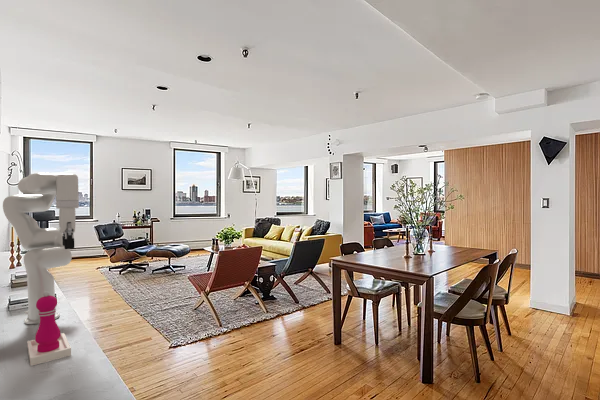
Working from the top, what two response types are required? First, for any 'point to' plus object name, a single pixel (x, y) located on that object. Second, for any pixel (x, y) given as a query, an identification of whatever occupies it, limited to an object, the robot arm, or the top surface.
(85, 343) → the top surface
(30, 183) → the robot arm
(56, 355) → the tray
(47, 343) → the pepper mill
